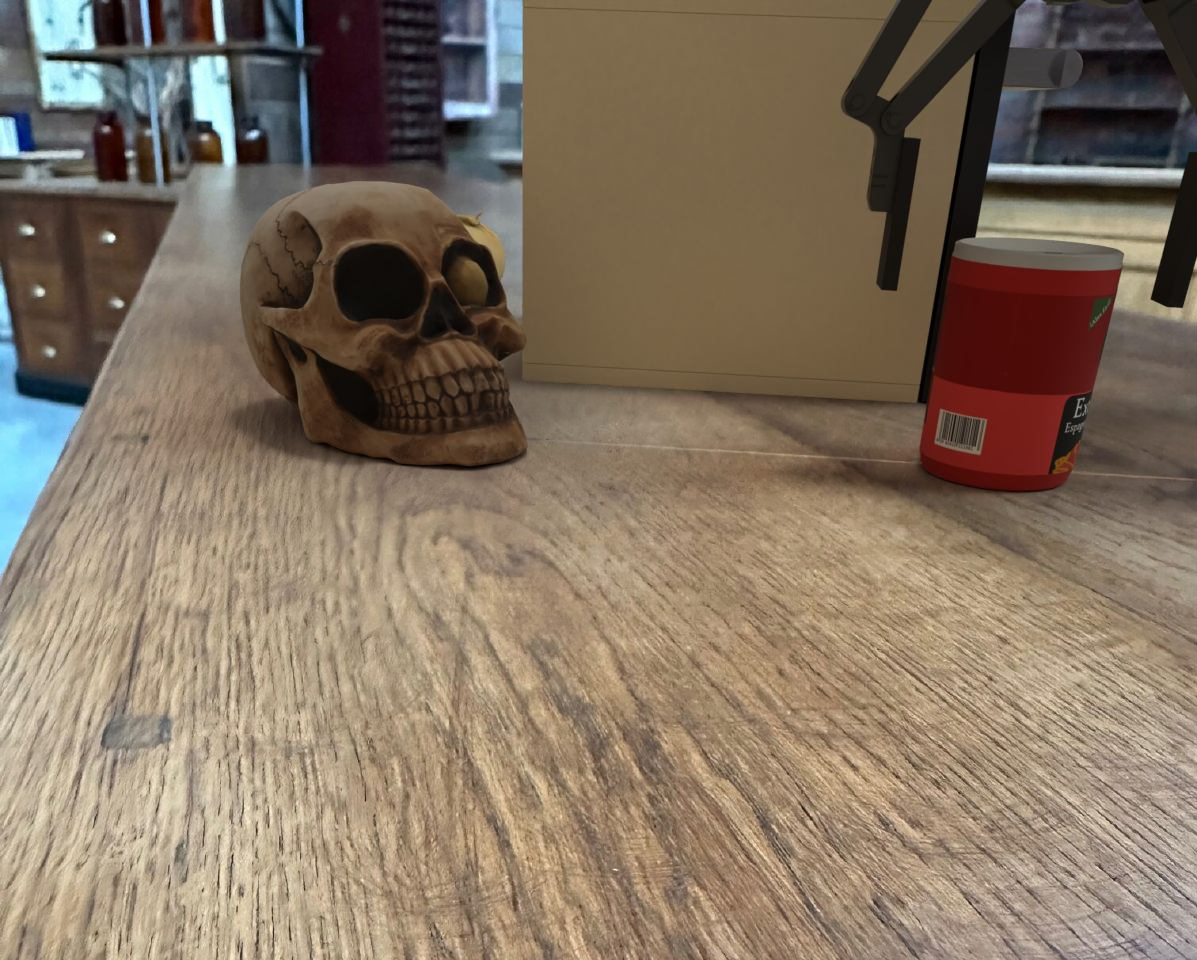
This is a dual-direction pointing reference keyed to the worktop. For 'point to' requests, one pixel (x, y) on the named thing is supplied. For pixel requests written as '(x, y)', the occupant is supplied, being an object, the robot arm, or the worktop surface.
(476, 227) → the onion
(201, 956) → the worktop surface
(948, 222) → the oven door
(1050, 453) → the canned food
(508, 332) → the brown skull
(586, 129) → the oven
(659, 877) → the worktop surface
